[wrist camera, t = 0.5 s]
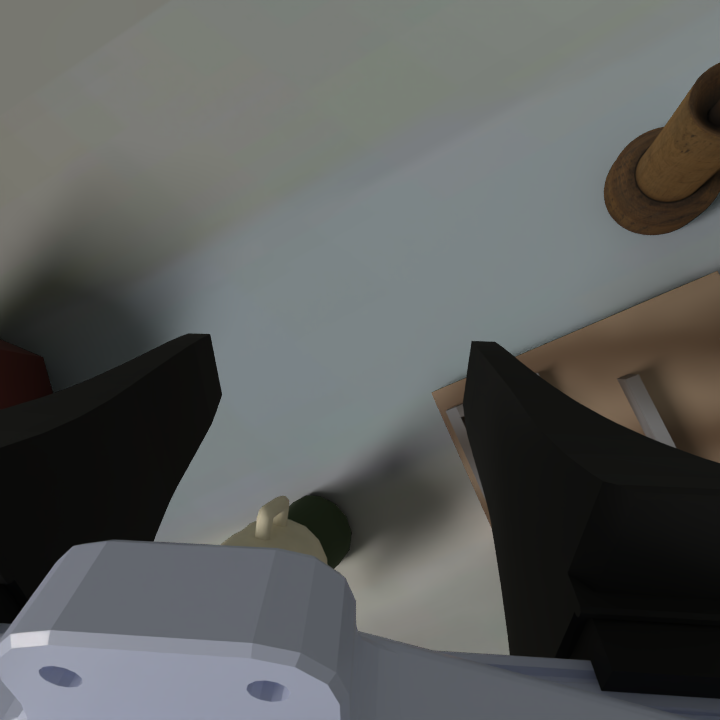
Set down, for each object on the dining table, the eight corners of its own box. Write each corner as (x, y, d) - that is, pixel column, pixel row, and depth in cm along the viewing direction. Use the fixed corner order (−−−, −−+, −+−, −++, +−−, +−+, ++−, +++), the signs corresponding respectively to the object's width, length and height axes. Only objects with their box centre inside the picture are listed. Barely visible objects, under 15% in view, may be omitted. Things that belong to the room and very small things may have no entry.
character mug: (290, 458, 39) (195, 503, 26) (367, 476, 37) (303, 533, 24) (273, 579, 39) (172, 679, 27) (348, 602, 37) (277, 724, 25)
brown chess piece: (586, 173, 32) (697, -49, 15) (679, 123, 31) (925, -189, 13) (629, 252, 31) (800, 114, 14) (728, 206, 30) (1057, -14, 12)
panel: (850, 544, 28) (907, 573, 24) (539, 625, 33) (545, 659, 29) (702, 276, 30) (733, 264, 26) (434, 391, 35) (427, 394, 31)
